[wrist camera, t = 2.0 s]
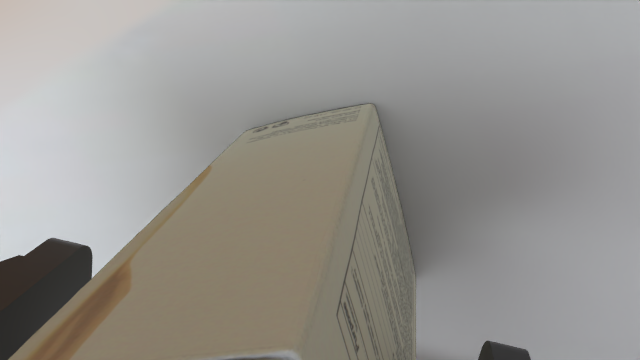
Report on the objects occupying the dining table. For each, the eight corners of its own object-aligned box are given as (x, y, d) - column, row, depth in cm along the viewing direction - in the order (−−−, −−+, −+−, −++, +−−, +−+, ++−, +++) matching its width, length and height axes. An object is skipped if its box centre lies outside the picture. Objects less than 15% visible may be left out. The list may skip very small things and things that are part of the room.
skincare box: (241, 128, 18) (-63, 371, 7) (378, 98, 17) (293, 322, 6) (294, 309, 20) (124, 746, 9) (421, 291, 19) (422, 758, 8)
